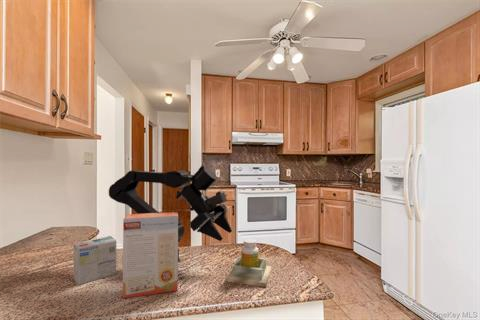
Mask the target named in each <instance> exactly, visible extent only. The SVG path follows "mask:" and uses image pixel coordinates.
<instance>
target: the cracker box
mask: <svg viewBox="0 0 480 320" xmlns="http://www.w3.org/2000/svg"><path fill="white" fill-rule="evenodd" d="M178 221H179V213H178V211H170V212H169V211H167V212H166V211H165V212H159V213H146V214H138V213H134V214H133V213H132V214H126V216H125V217H124V218H123V223H122V225H123V226H122V227H123V229H122V299H128V298H135V297H140V296H141V297H142V296H150V295H158V294H162V293H163V294H164V293H170V292H172V293H173V292H177V291H178V289H179V288H178V287H179V286H178V285H179V261H178V249H179V242H178Z"/></svg>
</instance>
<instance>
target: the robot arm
mask: <svg viewBox="0 0 480 320" xmlns="http://www.w3.org/2000/svg"><path fill="white" fill-rule="evenodd" d="M217 180H218V176H217V174H216V173H215V172H214V171H213V170H211V169H210V168H208V167H207V166H205V165H200V167H199V168H198V170H197V171H196V172H194V174H190V173H189V172H188V171H186V170H172V171H166V172H159V171H158V172H157V171H145V170H141V169H140V170H136V169H135V170H129V171H128V172H127V173H125V175H124V176H122V177H120V178H119V179H117V180H116V181H115V182H114V183H113V184H111V185H110V186H109V189H108V196H109V198H110V199H111V200H113V201H116V202H117V203H120V204H123V205H126V206H128V207H129V208H130V209H132V210H133V211H134V212H135V214H146V213H160V211H158V210H157V209H156V208H154V207H153V206H151V205H150V204H149V203H148V202H146V201H145V200H144V199H143V198H142V197H141V196H139V195H138V192H137V188H138V186H139V185H140V182H142V183H143V182H144V183H153V184H154V183H155V184H161V185H164V186H165V187H169V188H172V189H173V188H174V189H176V188H182V189H180V190H177V191H176V197H175V199H176V200H179V199H182V198H183V199H184V200H185V201H186V203H187V204H188V205H189V206H190V208H189V210H190V211H191V212H192V211H194V212H195V213H196V216H195V217H193V219H192V220H191V221H190V222H189V227H190V228H191V230H192V231H193V232H195V231H196V232H197V233H201V234H204V235H206V236H208V237H210V238H213V239H214V240H217V241H218V242H221V241H222V240H223V236H222V235H221V233H220V232H219V230H218V229H217V227H216V226H215V224H216V225H217V226H218V227H220V229H222V230H224V231H226V232H227V233H228V234H231V233H232V232H233V230H232V227H231V225H230V223H229V221H228V218H227V212H228V210H227V209H228V207H227V206H226V205H225V204H224V203H225V202H228V199H227V197H228V195H227V194H226V193H225V191H222V190H220V191H217V192H215V195H214V196H211V197H210V196H209V195H205V194H204V193H203V192H202V191H207V190H208V189H209V188H210V187H211V186H212V185H214V183H215V182H216V181H217ZM184 235H185V227H184V225H183V224H182V221H179V220H178V243H180V241H181V240H182V238H183V237H184ZM179 256H180V249H179V248H178V262H179V261H181V258H180V257H179Z"/></svg>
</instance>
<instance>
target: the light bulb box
mask: <svg viewBox="0 0 480 320" xmlns="http://www.w3.org/2000/svg"><path fill="white" fill-rule="evenodd" d="M116 274H117V239H115V238H113V237H112V236H111V235H108V236H104V237H100V238H99V237H98V238H92V239H87V240H83V241H78V242H74V243H73V280H74V282H75V284H76V285H77V286H80V285H83V284H86V283H89V282H93V281H97V280H99V279H103V278H107V277H109V276H113V275H116Z"/></svg>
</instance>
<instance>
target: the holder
mask: <svg viewBox="0 0 480 320" xmlns="http://www.w3.org/2000/svg"><path fill="white" fill-rule="evenodd" d="M271 273H272V265H267V258H266V257H265V258H264V257H259V256H258V268H254V267H246V266H241V254H240V255H239V256H238V258H237V259H236V261H235V262H234V264H233V265H232V269H231V271H230V272H229V273H228V274H227V276H226V278H225V281H226V282H229V283H237V284H243V285H250V286H257V287H263V288H264V287H265V288H267V286H268V282H269V280H270V279H269V278H270V275H271Z"/></svg>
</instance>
